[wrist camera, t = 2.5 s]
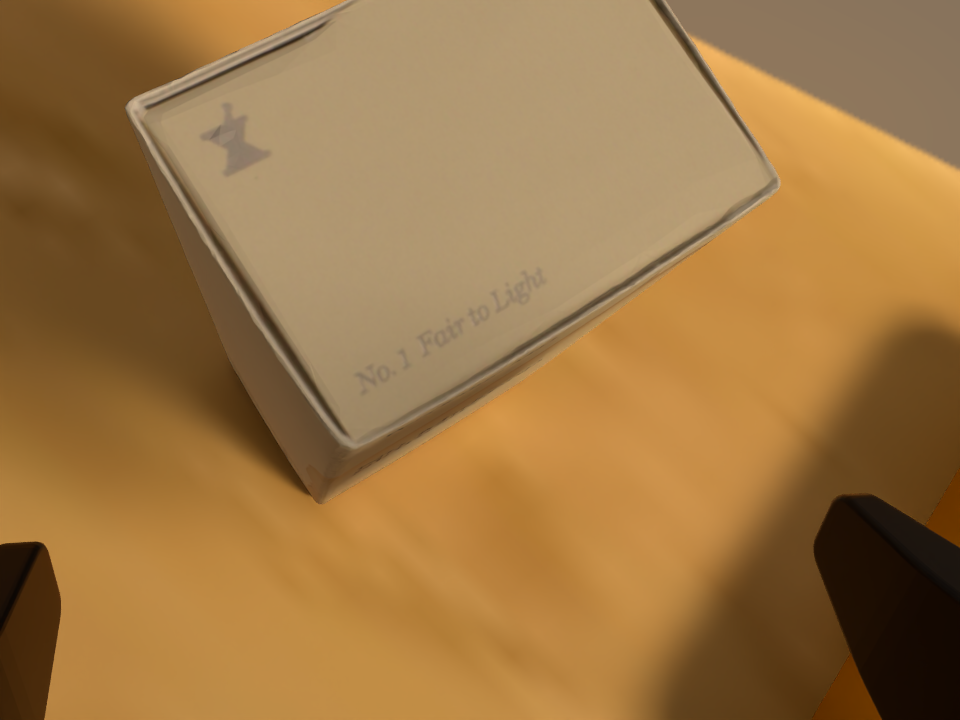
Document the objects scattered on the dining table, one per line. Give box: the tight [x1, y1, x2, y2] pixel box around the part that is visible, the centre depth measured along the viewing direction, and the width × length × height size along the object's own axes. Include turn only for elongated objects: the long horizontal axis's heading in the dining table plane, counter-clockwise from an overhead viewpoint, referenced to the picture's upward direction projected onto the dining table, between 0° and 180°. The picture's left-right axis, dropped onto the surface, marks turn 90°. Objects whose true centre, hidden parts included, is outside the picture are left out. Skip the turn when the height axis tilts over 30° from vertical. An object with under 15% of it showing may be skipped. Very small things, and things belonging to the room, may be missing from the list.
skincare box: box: [125, 0, 780, 504], centre depth 15 cm, size 6×4×12 cm
